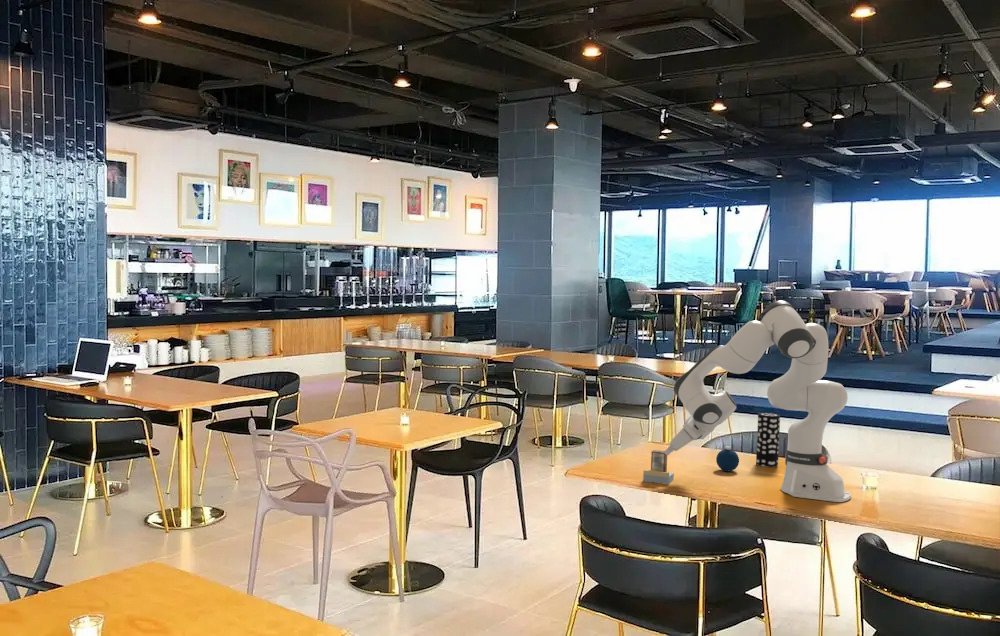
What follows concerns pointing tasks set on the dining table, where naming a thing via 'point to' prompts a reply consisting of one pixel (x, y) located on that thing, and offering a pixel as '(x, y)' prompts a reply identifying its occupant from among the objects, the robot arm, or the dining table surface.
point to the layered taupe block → (658, 461)
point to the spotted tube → (768, 439)
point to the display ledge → (658, 477)
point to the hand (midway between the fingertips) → (669, 451)
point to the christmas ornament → (727, 459)
